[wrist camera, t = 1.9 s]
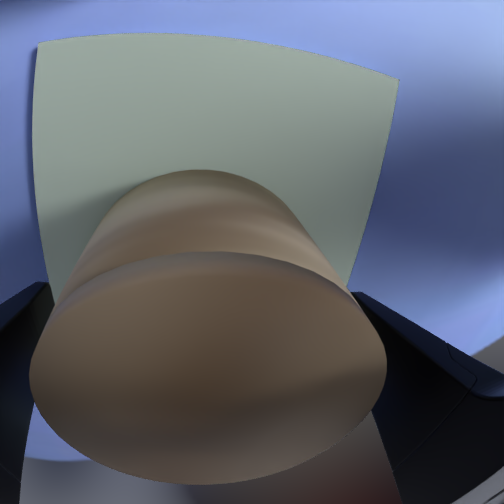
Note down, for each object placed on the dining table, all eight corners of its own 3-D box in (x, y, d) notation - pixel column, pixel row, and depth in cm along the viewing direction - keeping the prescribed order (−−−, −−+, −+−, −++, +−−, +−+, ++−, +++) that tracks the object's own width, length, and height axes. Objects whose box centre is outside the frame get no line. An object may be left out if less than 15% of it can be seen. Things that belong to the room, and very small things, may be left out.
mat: (392, 79, 8) (399, 79, 7) (308, 372, 13) (311, 378, 13) (44, 43, 6) (38, 42, 5) (78, 369, 11) (76, 376, 11)
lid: (332, 182, 9) (445, 278, 4) (285, 358, 12) (324, 470, 8) (79, 165, 7) (-25, 261, 3) (103, 355, 11) (84, 476, 6)
